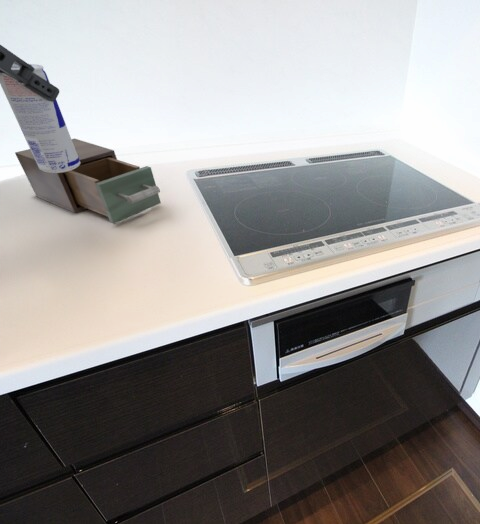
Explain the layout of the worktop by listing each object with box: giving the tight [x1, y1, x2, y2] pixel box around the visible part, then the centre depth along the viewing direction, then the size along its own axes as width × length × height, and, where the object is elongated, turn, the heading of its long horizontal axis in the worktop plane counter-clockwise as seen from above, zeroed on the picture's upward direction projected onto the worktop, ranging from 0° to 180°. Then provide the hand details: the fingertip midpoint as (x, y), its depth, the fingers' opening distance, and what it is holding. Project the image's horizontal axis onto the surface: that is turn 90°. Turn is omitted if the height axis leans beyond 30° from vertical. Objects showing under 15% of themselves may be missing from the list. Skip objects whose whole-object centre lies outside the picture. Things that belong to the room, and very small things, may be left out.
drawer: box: [63, 157, 162, 224], centre depth 71 cm, size 17×10×8 cm, turn 62°
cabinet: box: [14, 138, 118, 214], centre depth 76 cm, size 14×12×10 cm
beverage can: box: [0, 63, 81, 173], centre depth 55 cm, size 6×6×15 cm
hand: (43, 92), depth 54 cm, fingers closed on beverage can, 5 cm apart
